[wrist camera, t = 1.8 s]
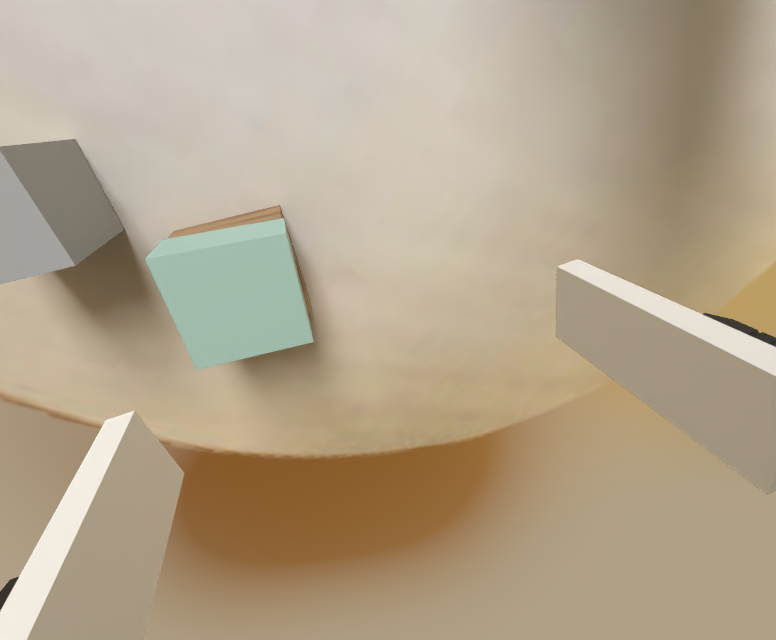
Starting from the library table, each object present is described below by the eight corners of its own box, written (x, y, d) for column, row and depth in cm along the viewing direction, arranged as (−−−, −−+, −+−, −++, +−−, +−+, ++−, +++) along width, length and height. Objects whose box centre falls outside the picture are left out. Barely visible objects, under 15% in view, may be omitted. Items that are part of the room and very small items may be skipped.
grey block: (-28, 159, 23) (-152, 176, 16) (75, 139, 24) (-3, 147, 17) (35, 250, 26) (-47, 295, 19) (124, 228, 27) (75, 265, 20)
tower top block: (162, 239, 25) (144, 259, 21) (284, 218, 26) (285, 233, 23) (205, 339, 29) (196, 369, 25) (309, 316, 30) (313, 342, 27)
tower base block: (174, 230, 28) (161, 245, 25) (279, 204, 29) (280, 216, 26) (218, 319, 32) (211, 342, 29) (308, 293, 33) (312, 313, 30)
